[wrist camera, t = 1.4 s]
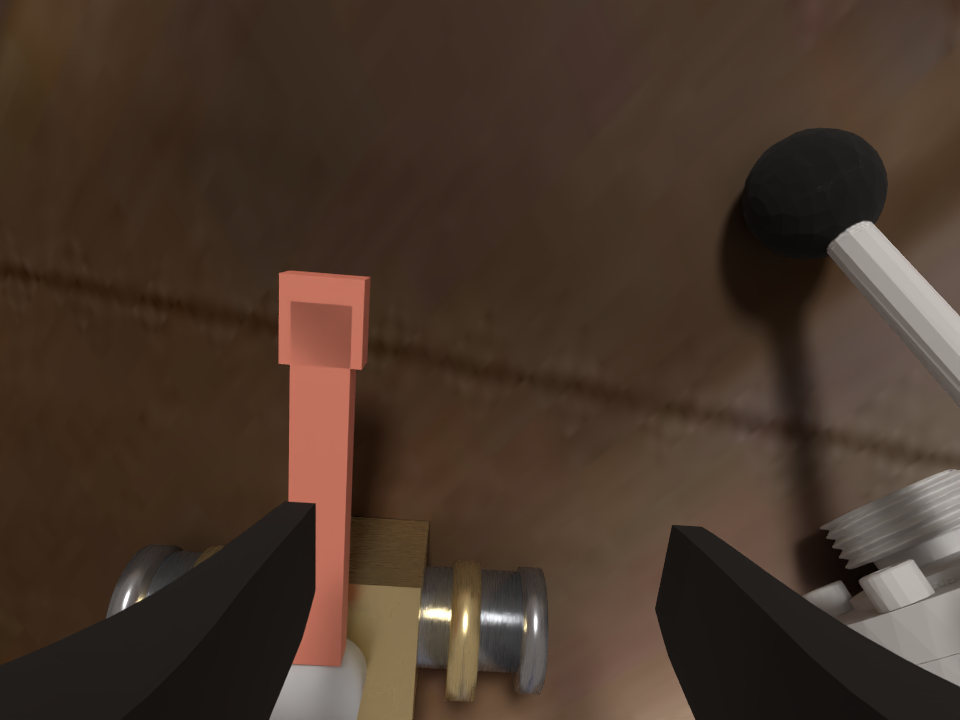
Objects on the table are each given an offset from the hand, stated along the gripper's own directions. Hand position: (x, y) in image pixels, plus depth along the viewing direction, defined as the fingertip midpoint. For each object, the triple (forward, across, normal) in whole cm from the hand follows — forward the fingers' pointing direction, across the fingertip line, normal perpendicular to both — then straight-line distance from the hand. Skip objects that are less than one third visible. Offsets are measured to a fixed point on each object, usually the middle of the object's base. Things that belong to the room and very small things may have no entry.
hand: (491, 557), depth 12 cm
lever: (+6, +5, +3) cm, 8 cm away
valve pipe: (+11, +4, +9) cm, 15 cm away
